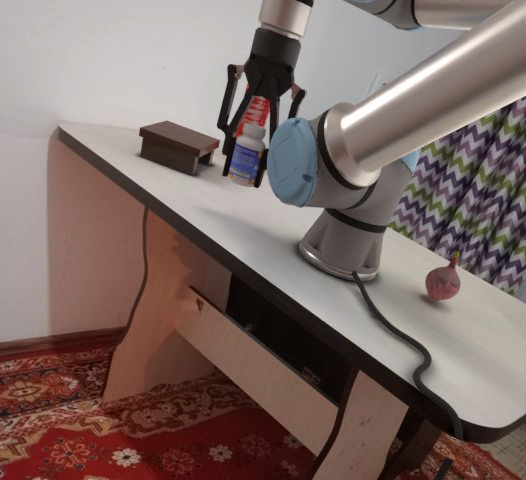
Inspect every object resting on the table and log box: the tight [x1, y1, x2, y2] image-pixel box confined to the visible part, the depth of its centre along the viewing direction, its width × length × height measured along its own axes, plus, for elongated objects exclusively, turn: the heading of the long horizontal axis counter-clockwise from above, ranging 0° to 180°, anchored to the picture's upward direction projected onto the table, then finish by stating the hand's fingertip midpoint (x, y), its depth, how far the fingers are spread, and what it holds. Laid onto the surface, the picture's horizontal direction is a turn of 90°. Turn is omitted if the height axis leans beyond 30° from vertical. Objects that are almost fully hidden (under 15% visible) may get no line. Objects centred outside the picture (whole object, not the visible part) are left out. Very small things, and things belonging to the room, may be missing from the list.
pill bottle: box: [227, 123, 267, 188], centre depth 82 cm, size 5×5×10 cm
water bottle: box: [234, 82, 270, 137], centre depth 121 cm, size 12×8×25 cm, turn 39°
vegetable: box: [424, 251, 462, 302], centre depth 82 cm, size 6×6×10 cm
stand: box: [138, 120, 221, 176], centre depth 108 cm, size 16×14×6 cm
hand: (241, 180), depth 84 cm, fingers closed on pill bottle, 5 cm apart
